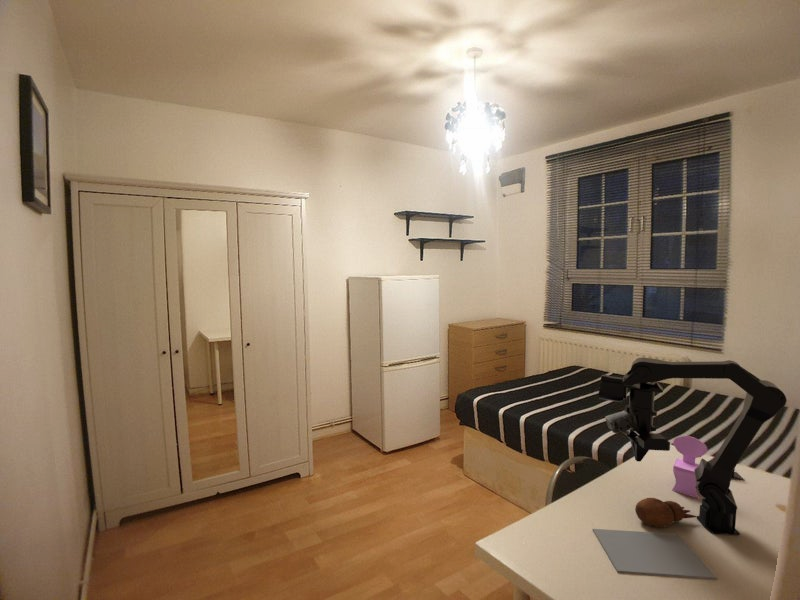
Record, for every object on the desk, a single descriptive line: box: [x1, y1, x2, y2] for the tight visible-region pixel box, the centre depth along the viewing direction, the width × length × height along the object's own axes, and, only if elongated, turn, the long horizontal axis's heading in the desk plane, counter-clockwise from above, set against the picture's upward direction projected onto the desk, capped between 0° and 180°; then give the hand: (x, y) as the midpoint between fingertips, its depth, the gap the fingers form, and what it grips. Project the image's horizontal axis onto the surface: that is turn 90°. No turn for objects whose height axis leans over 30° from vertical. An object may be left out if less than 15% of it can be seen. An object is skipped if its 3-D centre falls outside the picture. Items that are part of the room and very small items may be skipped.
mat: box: [592, 528, 718, 580], centre depth 93 cm, size 20×14×1 cm
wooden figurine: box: [635, 497, 698, 528], centre depth 105 cm, size 7×6×15 cm
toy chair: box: [671, 435, 708, 499], centre depth 120 cm, size 8×9×15 cm
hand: (637, 460), depth 111 cm, fingers closed
